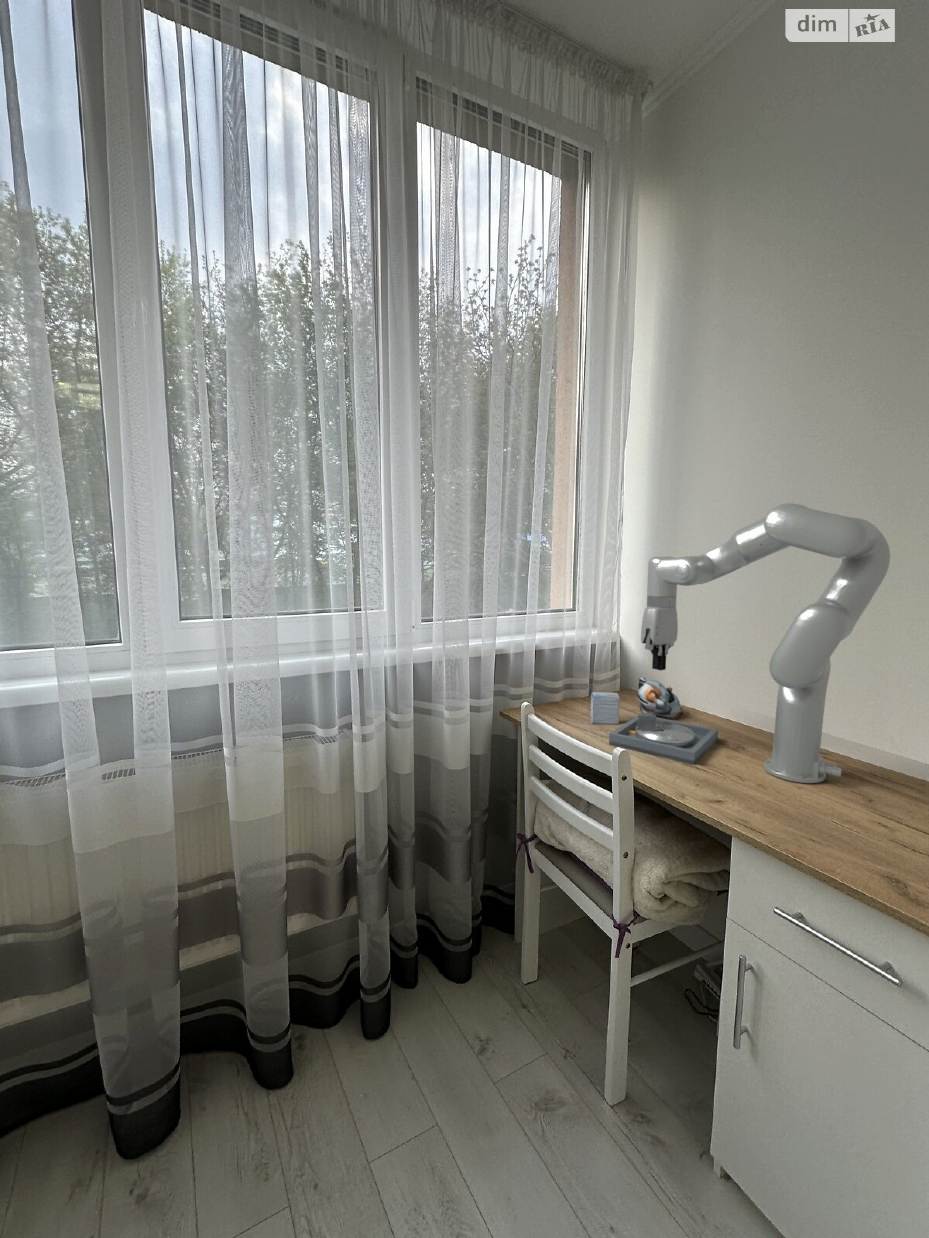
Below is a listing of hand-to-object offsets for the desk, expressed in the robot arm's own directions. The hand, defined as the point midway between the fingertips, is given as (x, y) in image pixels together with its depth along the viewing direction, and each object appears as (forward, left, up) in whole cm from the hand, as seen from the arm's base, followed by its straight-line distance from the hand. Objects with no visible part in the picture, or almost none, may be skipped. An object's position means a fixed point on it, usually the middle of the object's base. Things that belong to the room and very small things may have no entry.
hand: (658, 669), depth 154 cm
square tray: (-3, +3, -19) cm, 20 cm away
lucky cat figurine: (+6, -21, -20) cm, 29 cm away
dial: (-3, +3, -18) cm, 19 cm away
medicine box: (+17, -3, -20) cm, 26 cm away
